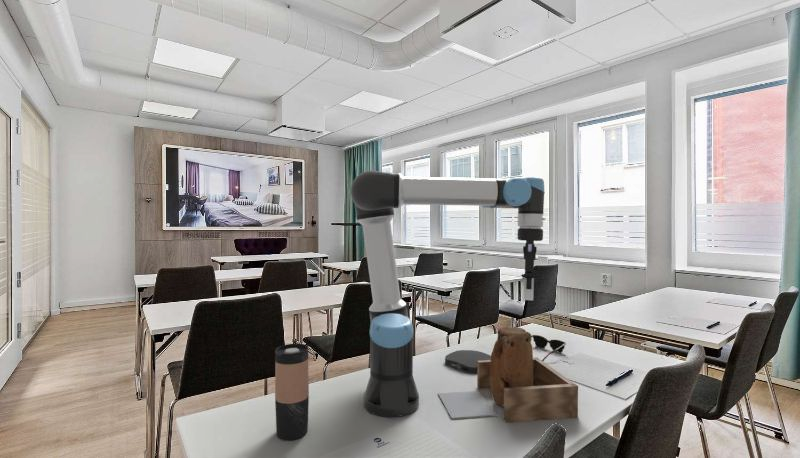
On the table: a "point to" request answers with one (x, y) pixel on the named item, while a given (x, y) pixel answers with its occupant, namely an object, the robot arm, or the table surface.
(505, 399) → the open box
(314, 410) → the table surface
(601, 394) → the table surface
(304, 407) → the travel mug
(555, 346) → the sunglasses
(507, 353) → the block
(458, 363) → the media streaming box
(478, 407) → the mat
